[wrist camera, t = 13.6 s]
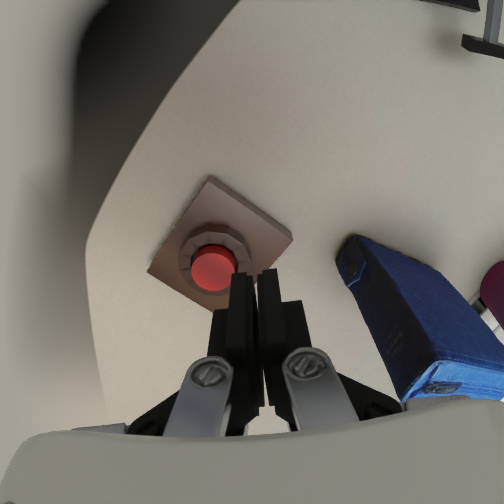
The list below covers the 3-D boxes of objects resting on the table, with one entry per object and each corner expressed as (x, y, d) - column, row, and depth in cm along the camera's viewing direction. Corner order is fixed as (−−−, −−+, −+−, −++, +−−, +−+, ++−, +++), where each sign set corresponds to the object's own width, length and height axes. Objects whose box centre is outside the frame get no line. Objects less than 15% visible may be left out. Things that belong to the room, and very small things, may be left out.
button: (220, 288, 32) (218, 298, 31) (186, 267, 31) (183, 276, 30) (243, 260, 31) (243, 269, 29) (208, 236, 30) (206, 245, 28)
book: (327, 264, 35) (383, 415, 17) (349, 222, 33) (436, 358, 15) (420, 299, 38) (493, 419, 20) (442, 265, 35) (532, 377, 17)
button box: (225, 307, 38) (222, 329, 34) (151, 262, 35) (141, 280, 32) (291, 231, 34) (295, 248, 30) (210, 174, 31) (205, 185, 27)
